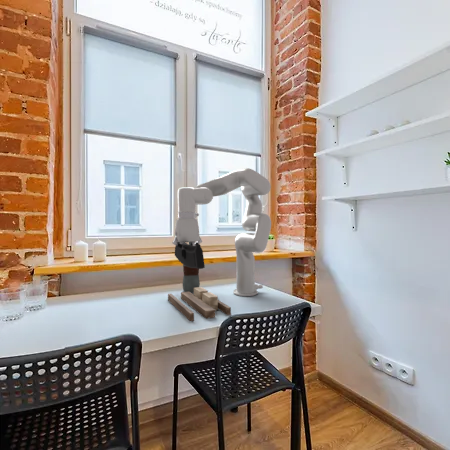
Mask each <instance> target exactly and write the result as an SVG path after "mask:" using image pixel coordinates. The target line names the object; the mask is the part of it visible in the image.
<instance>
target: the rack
mask: <svg viewBox="0 0 450 450" xmlns="http://www.w3.org/2000/svg"><path fill="white" fill-rule="evenodd" d="M180 299H181V300H182V301H184V302H185V303H186V304H187V305H188V306H190V307H191V308H192V309H193V310H195V311H196V312H197V313H198V314H199V315H201V316H202V317H203V318H204V319H213V318H216V310H215V309H213V308H212V307H210V306H209V305H208V304H206V303H205V302H203V301H202V300H200V299H199V298H197V297H196V296H195V295H194V293H190V292H184V291H182V292H180ZM167 300H168V302H169V303H170V304H172V306H174V307H175V308H176V309H177V310H178V311H179V312H180V313H181V314H182V315H183V316H184V317H185V318H186V319H187V320H188V321H189V322H193V321H195V313H194V311H192V310H191V309H190V308H189V307H188V306H186V305H185V304H184V303H183V302H182V301H181V300H179V299H178V298H177V297H176V296H175V295H173V294H172V293H168V294H167ZM218 310H219V311H221V312H222V313H224V314H225V316H231V314H232V307H231V306H229V305H227V304H226V303H225V302H223V301H221V300H219V299H218Z"/></svg>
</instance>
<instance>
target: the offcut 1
mask: <svg viewBox="0 0 450 450" xmlns="http://www.w3.org/2000/svg"><path fill="white" fill-rule="evenodd" d="M208 292H209V290H207V289H206V288H204V287H202V286H199V287H197V288H194V293H193V295H195V296H196V297H197V298H199V299H200V300H202V293H208Z"/></svg>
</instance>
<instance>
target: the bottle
mask: <svg viewBox="0 0 450 450" xmlns="http://www.w3.org/2000/svg"><path fill="white" fill-rule="evenodd" d="M188 244H189V245H191V243H190V242H188ZM182 270H183V276H182V278H183V279H182V290H183V292H190V293H192V294H194V288H197V287H201V286H200V285H201V280H200V275H199V272H200V269H197V268H189V267H187V266H185V265H183V264H182Z"/></svg>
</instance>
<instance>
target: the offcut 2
mask: <svg viewBox="0 0 450 450" xmlns="http://www.w3.org/2000/svg"><path fill="white" fill-rule="evenodd" d="M218 300H219V299H218V295H216V294H214V293H212V292H211V291H210V292H209V291H208V293H202V301H203V302H205V303H206V304H208V305H209V306H210V307H212V308H213V309H215V311H218V310H219V309H218Z"/></svg>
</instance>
